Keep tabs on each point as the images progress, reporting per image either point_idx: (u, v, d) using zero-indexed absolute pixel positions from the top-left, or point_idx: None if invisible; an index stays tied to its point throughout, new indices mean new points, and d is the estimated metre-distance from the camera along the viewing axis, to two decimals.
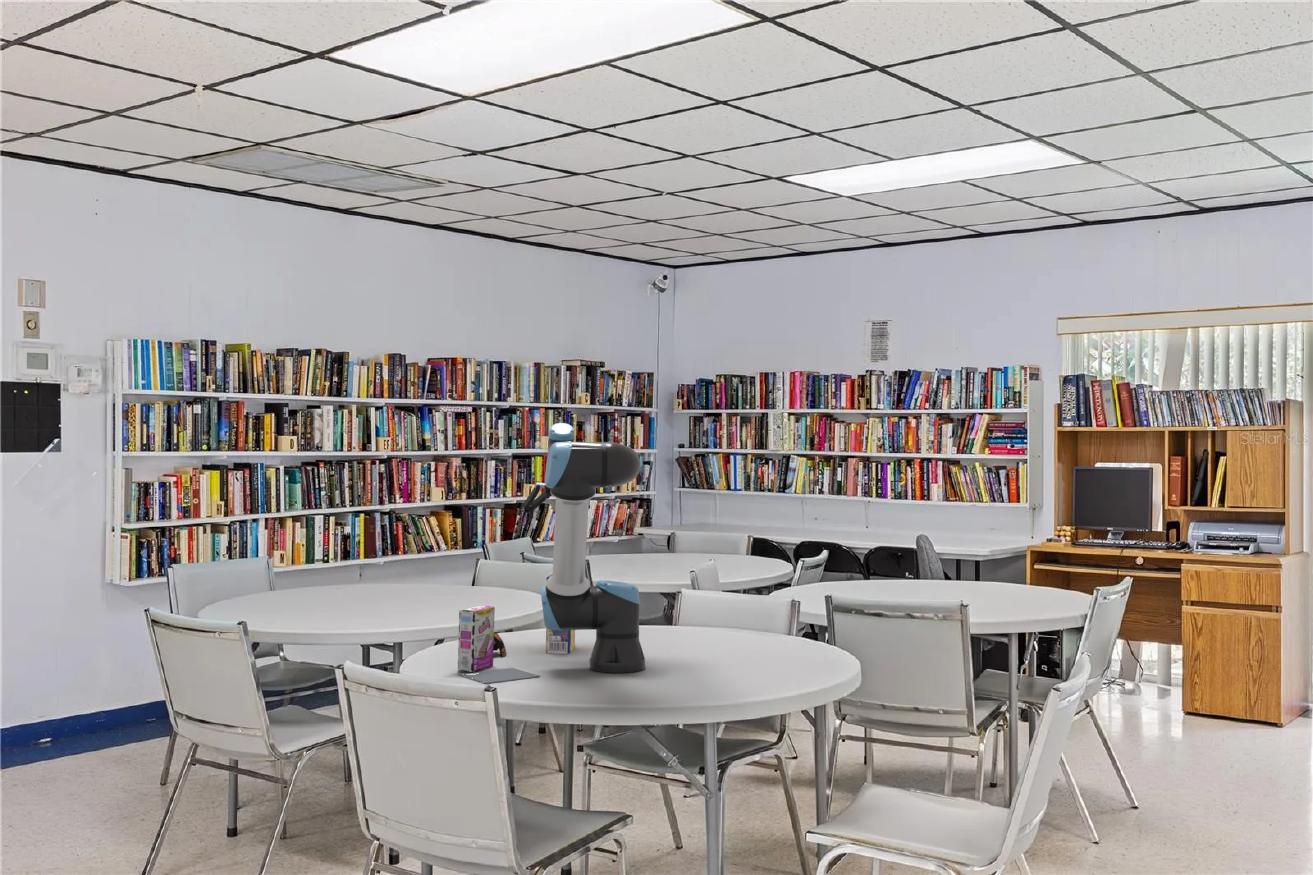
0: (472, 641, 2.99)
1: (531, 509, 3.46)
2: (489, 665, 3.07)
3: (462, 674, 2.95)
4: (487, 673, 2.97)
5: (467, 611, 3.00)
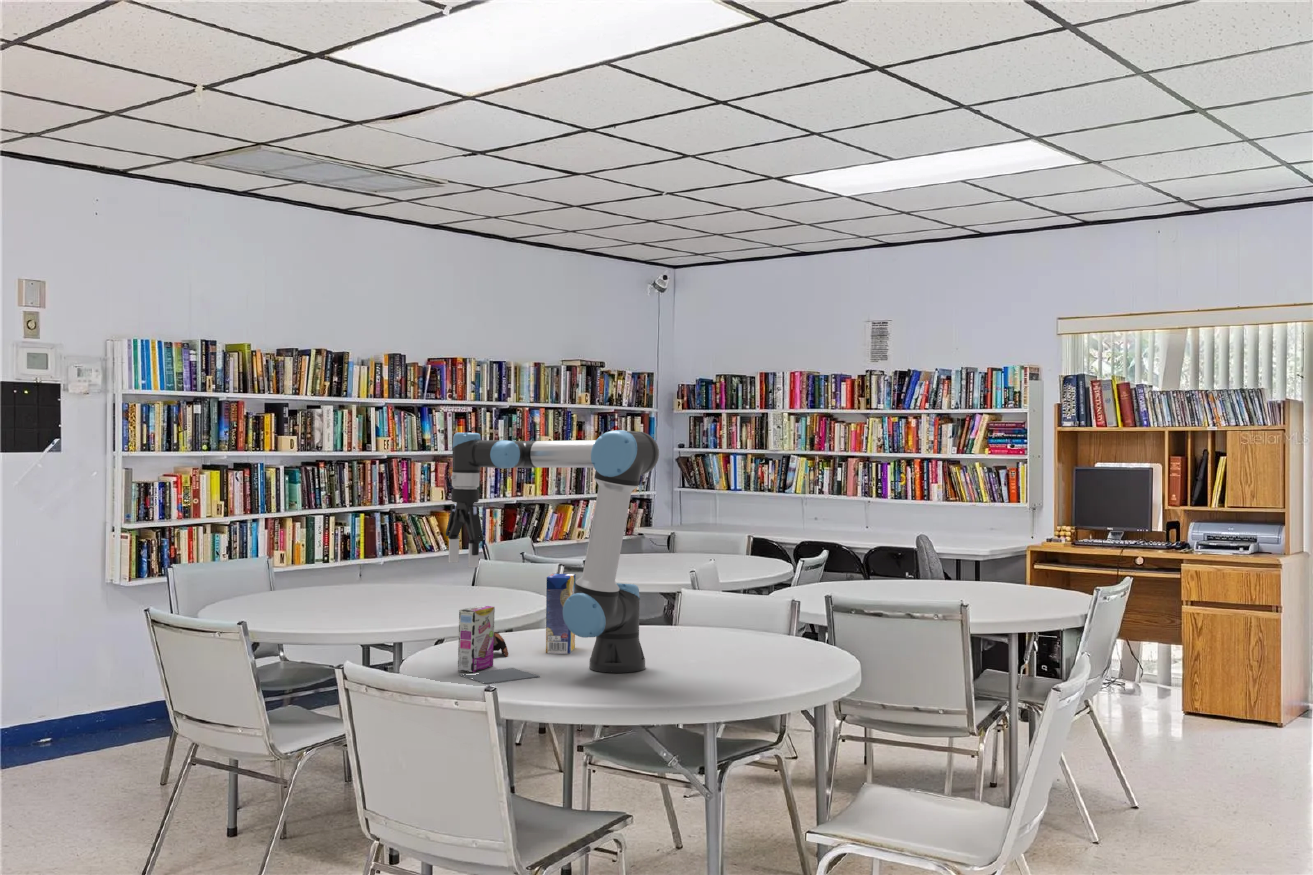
0: (472, 641, 2.99)
1: None
2: (489, 665, 3.07)
3: (462, 674, 2.95)
4: (487, 673, 2.97)
5: (467, 611, 3.00)
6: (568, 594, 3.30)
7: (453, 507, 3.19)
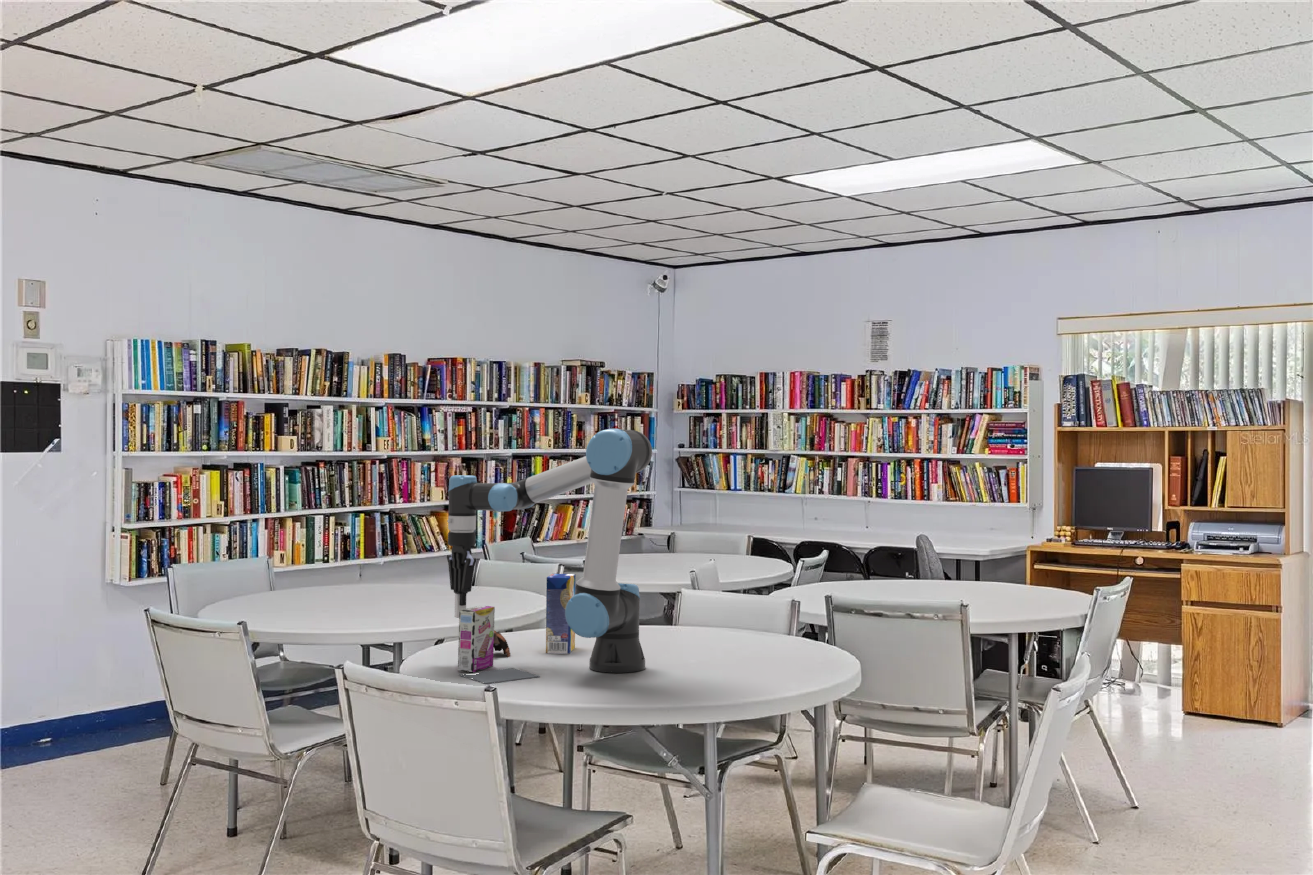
0: (472, 641, 2.99)
1: None
2: (489, 665, 3.07)
3: (462, 674, 2.95)
4: (487, 673, 2.97)
5: (467, 611, 3.00)
6: (568, 594, 3.30)
7: (449, 556, 3.16)
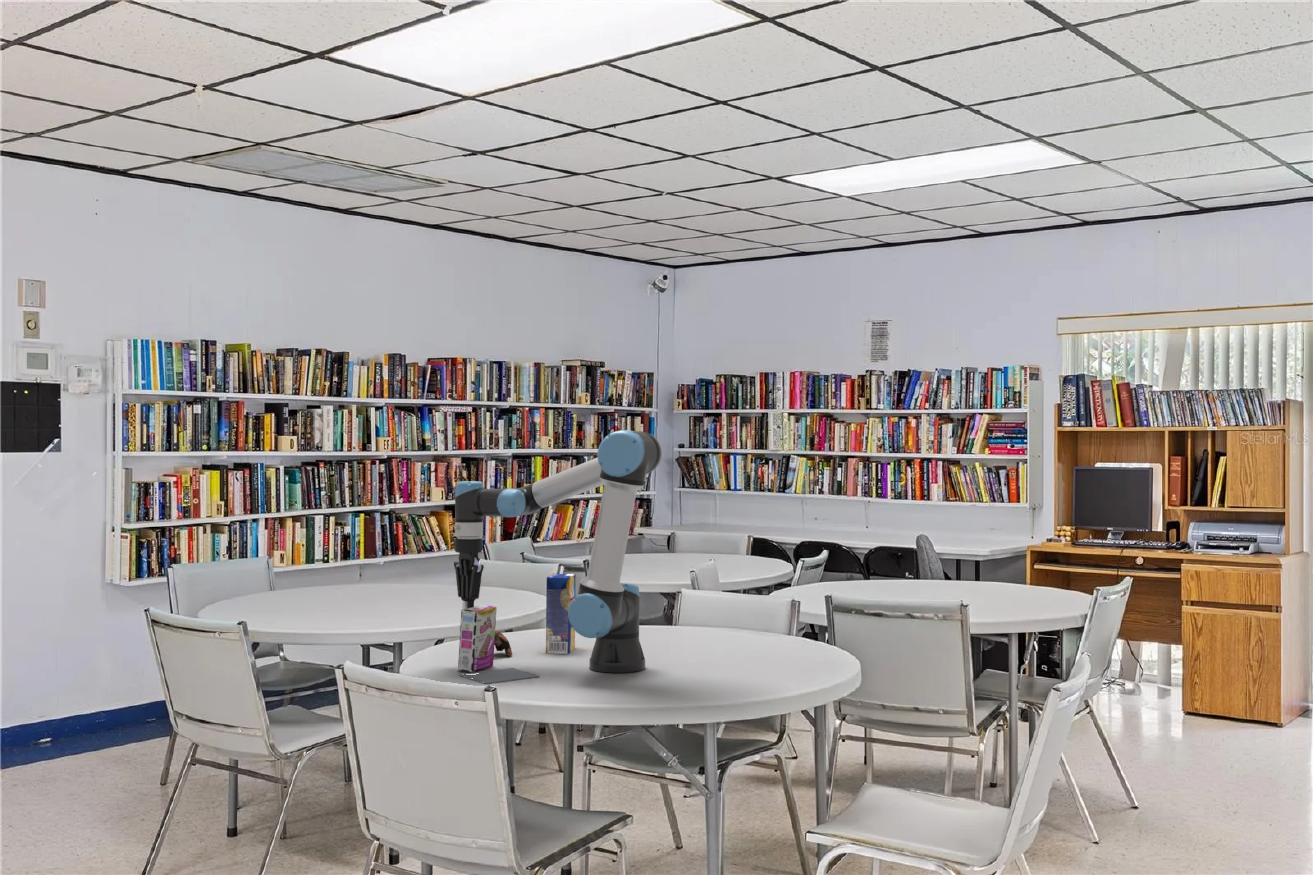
0: (473, 641, 2.99)
1: None
2: (489, 664, 3.07)
3: (462, 674, 2.95)
4: (487, 673, 2.97)
5: (469, 611, 3.00)
6: (568, 594, 3.30)
7: (456, 563, 3.13)
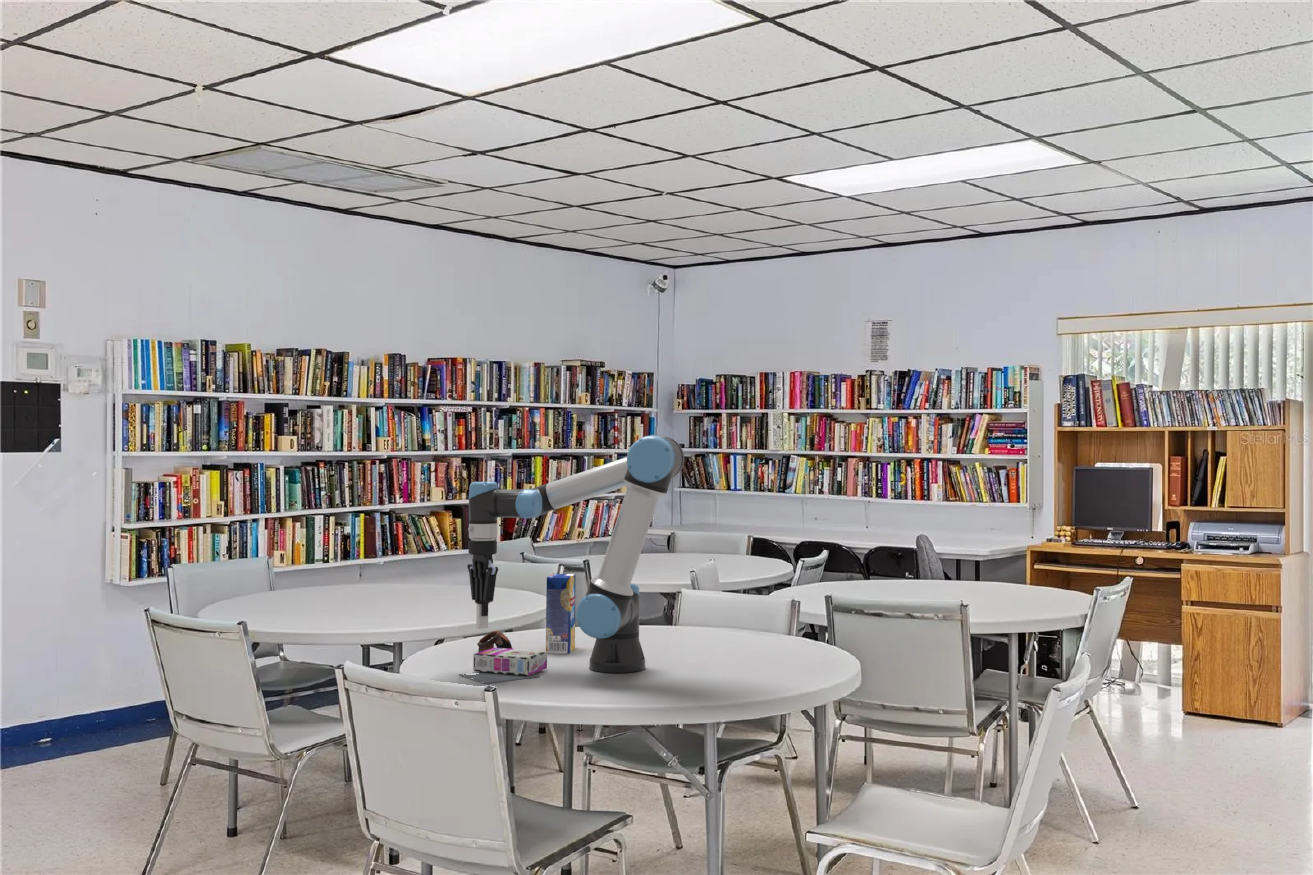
0: (500, 672, 2.96)
1: None
2: None
3: (462, 674, 2.95)
4: (487, 673, 2.97)
5: (527, 667, 2.93)
6: (568, 594, 3.30)
7: (470, 565, 3.06)
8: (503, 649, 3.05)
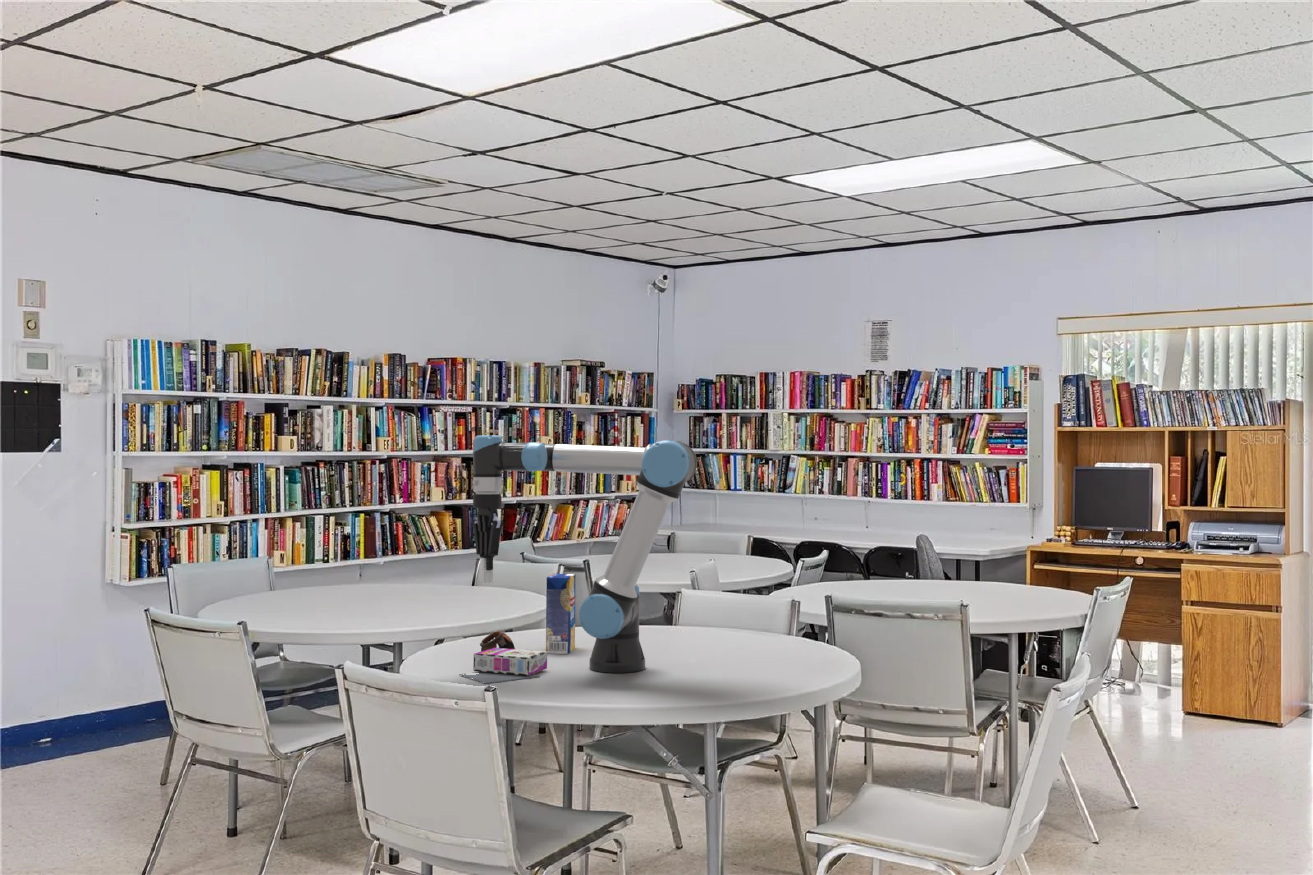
0: (500, 672, 2.96)
1: None
2: None
3: (462, 674, 2.95)
4: (487, 673, 2.97)
5: (527, 667, 2.93)
6: (568, 594, 3.30)
7: (474, 520, 3.05)
8: (503, 649, 3.05)
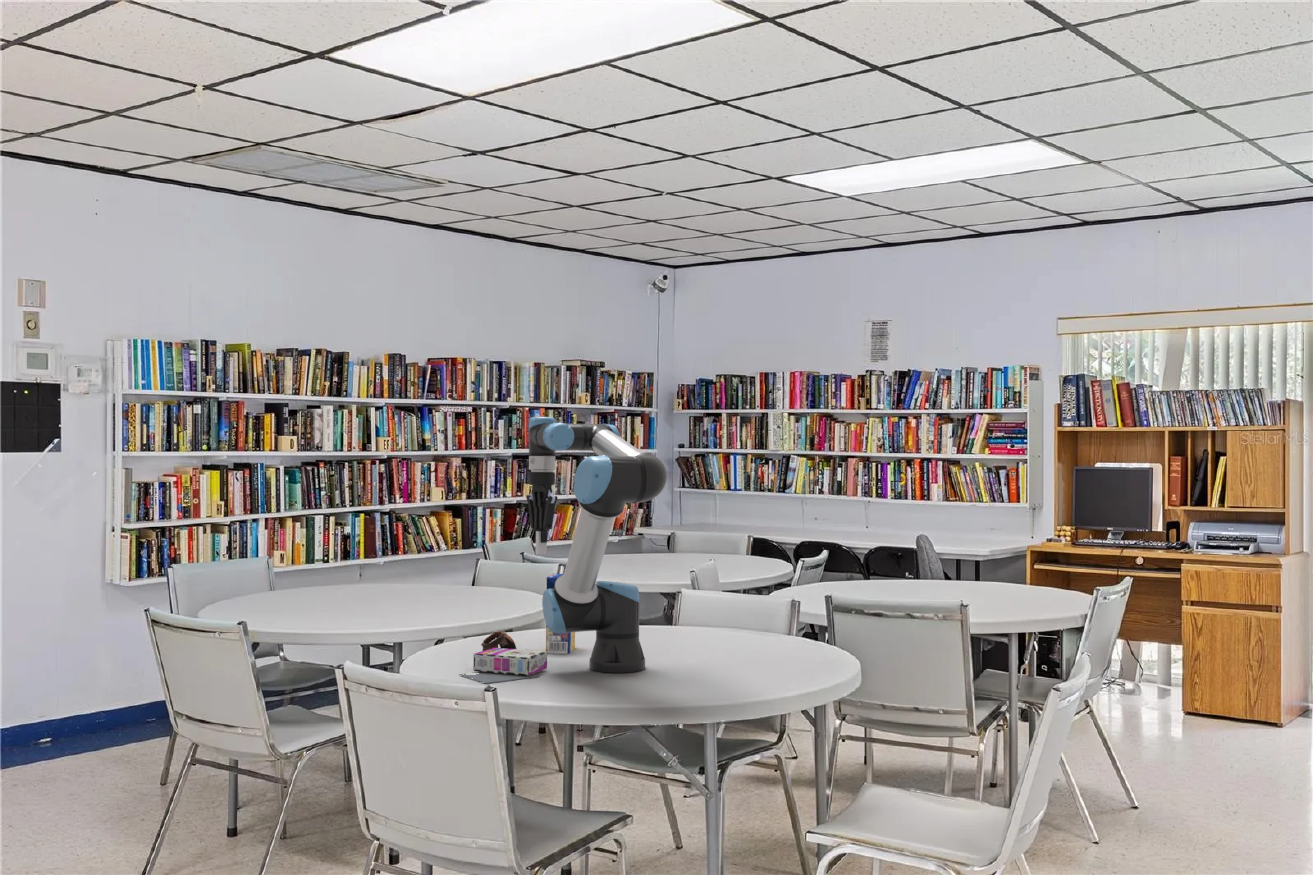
0: (500, 672, 2.96)
1: None
2: None
3: (462, 674, 2.95)
4: (487, 673, 2.97)
5: (527, 667, 2.93)
6: None
7: (529, 496, 3.27)
8: (503, 649, 3.05)
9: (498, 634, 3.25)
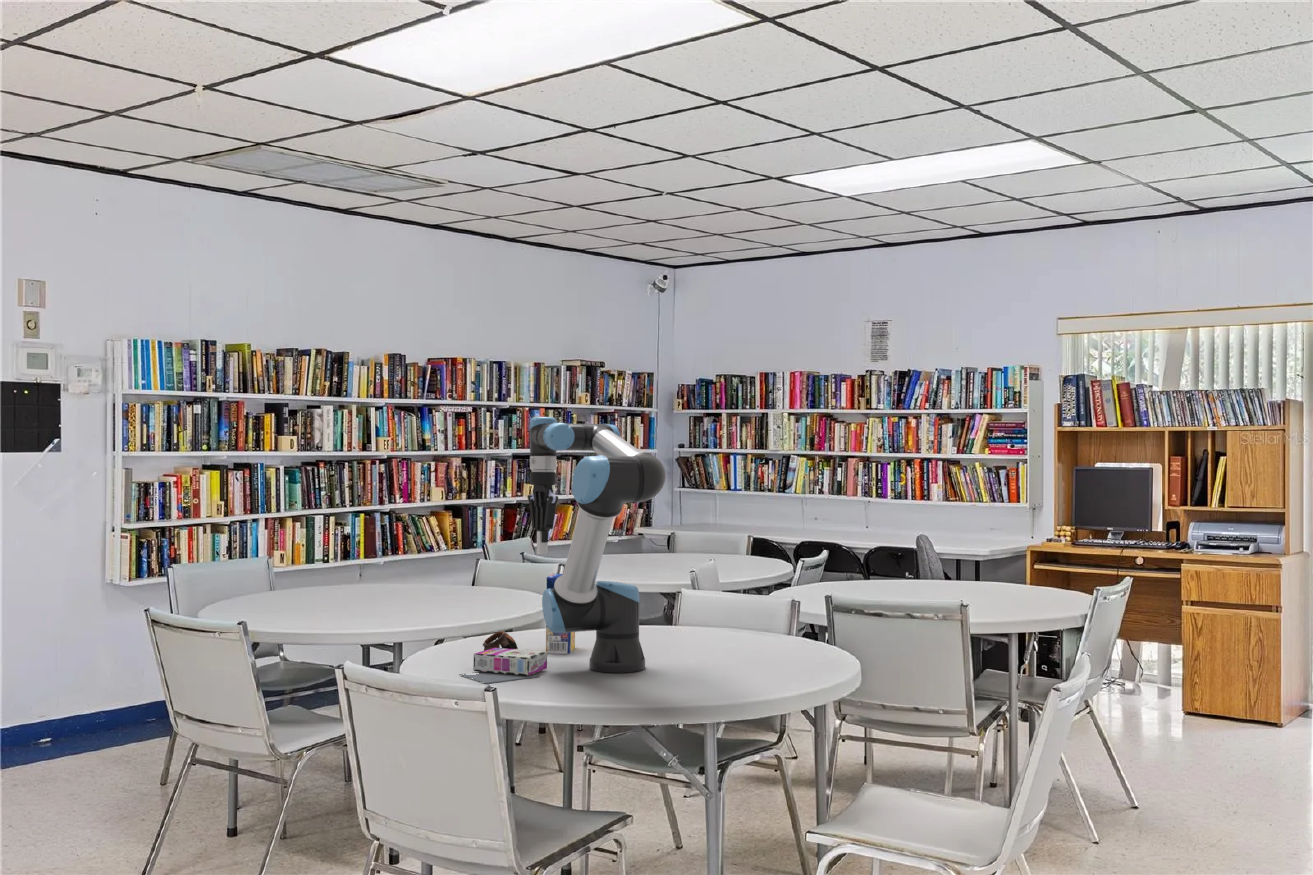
0: (500, 672, 2.96)
1: None
2: None
3: (462, 674, 2.95)
4: (487, 673, 2.97)
5: (527, 667, 2.93)
6: None
7: (530, 496, 3.27)
8: (503, 649, 3.05)
9: (499, 634, 3.25)
